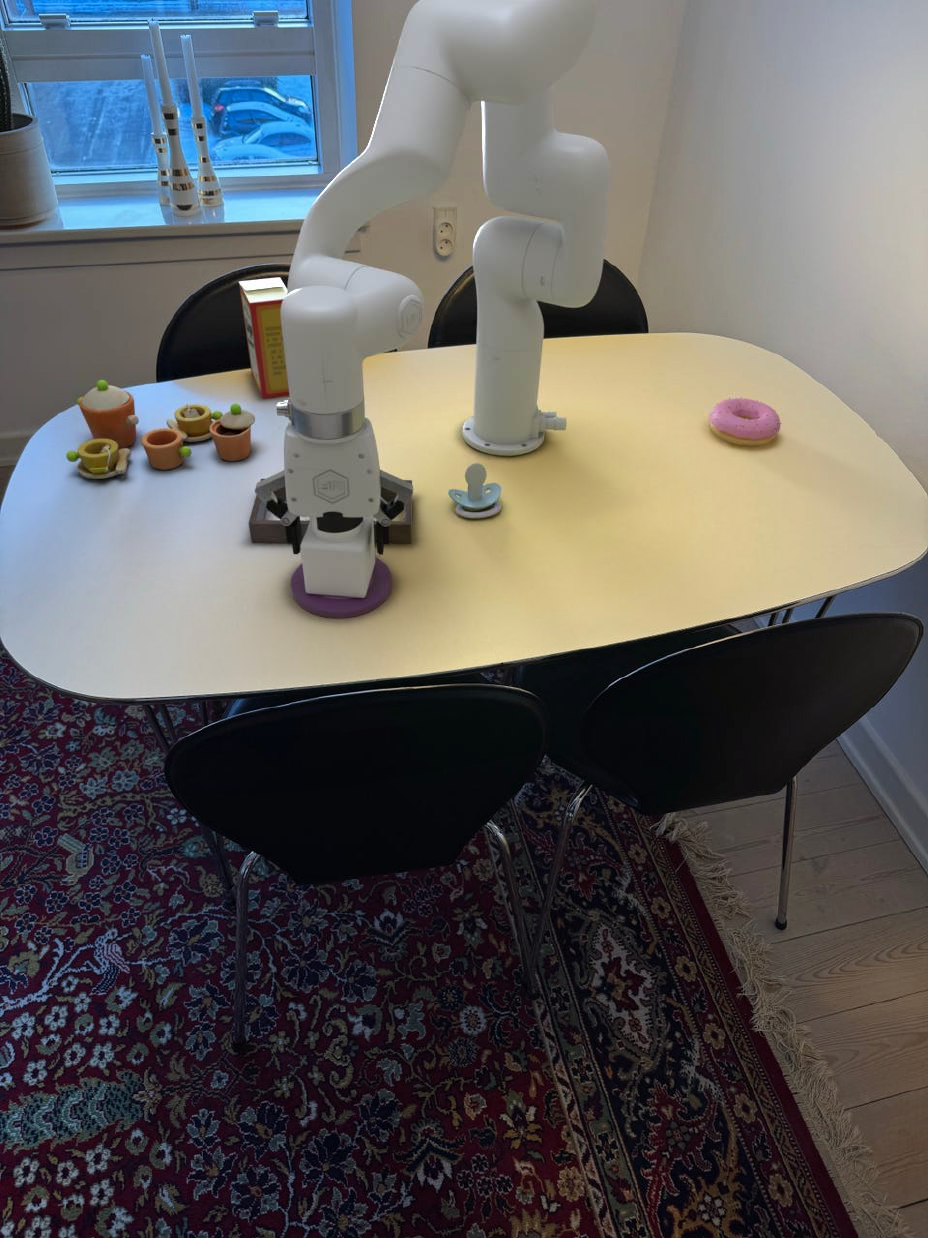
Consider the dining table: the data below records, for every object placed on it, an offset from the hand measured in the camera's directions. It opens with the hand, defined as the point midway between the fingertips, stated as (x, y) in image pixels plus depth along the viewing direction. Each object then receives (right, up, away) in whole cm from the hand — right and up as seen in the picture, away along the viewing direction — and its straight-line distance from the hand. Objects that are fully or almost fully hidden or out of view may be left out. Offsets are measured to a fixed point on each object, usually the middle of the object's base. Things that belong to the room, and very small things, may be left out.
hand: (339, 547), depth 99 cm
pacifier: (+16, +7, +17) cm, 25 cm away
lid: (0, -4, +4) cm, 6 cm away
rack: (-3, +5, +14) cm, 15 cm away
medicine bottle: (0, -4, +3) cm, 5 cm away
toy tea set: (-29, +17, +27) cm, 43 cm away
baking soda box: (-17, +31, +44) cm, 56 cm away
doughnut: (+58, +21, +36) cm, 72 cm away
